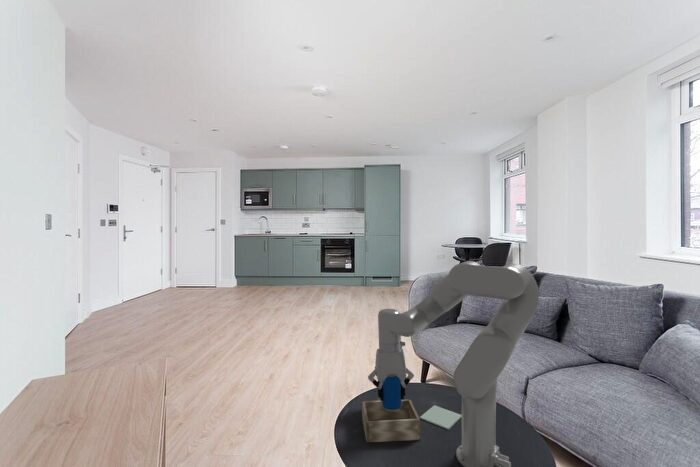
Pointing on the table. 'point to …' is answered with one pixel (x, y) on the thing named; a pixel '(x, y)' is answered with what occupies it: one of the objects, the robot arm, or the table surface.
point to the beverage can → (392, 393)
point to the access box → (390, 422)
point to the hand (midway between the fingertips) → (391, 398)
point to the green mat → (441, 417)
